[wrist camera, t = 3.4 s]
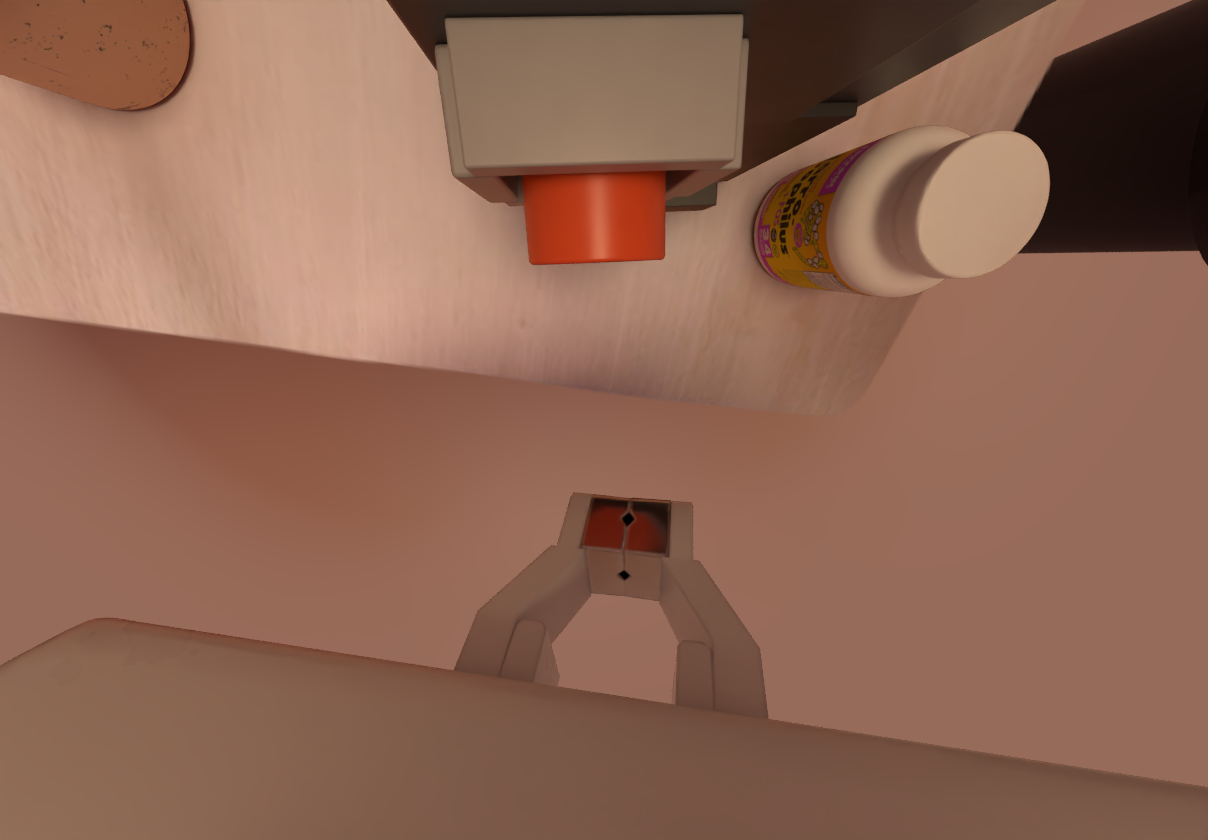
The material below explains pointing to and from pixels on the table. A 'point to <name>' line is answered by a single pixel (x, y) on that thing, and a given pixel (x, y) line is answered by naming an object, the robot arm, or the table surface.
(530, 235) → the power button
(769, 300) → the table surface
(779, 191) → the supplement bottle
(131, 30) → the teacup with lid
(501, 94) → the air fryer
